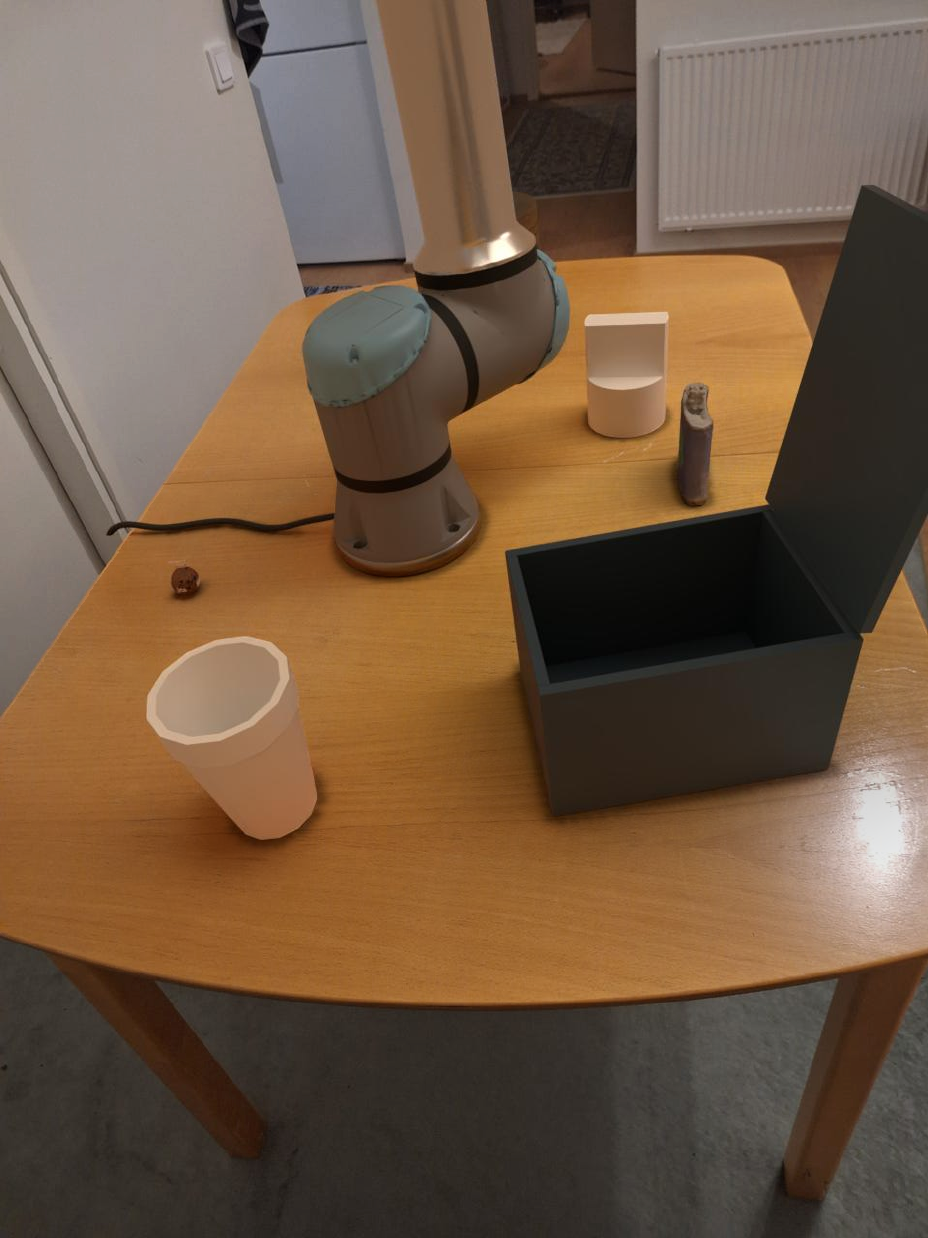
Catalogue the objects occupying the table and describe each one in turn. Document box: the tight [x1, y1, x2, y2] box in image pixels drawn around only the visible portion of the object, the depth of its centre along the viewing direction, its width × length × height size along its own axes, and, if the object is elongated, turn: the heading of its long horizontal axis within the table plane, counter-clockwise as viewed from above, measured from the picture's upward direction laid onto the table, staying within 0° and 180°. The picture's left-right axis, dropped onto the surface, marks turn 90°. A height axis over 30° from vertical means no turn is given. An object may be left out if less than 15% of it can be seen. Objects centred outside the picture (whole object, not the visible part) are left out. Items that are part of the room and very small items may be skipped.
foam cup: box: [145, 635, 318, 841], centre depth 57 cm, size 10×9×13 cm
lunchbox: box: [504, 503, 864, 817], centre depth 58 cm, size 20×15×13 cm
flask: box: [675, 382, 714, 507], centre depth 81 cm, size 9×3×11 cm, turn 172°
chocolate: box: [168, 558, 201, 595], centre depth 81 cm, size 3×2×4 cm
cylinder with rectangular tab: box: [584, 311, 670, 439], centre depth 91 cm, size 9×9×12 cm
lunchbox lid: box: [764, 184, 928, 635], centre depth 47 cm, size 21×15×6 cm
